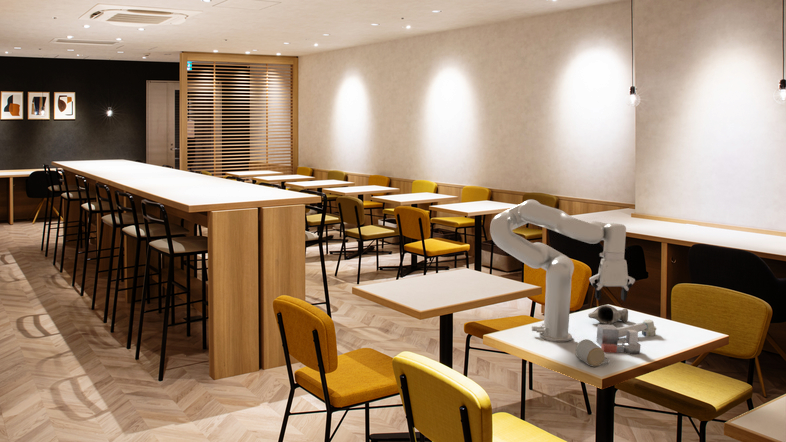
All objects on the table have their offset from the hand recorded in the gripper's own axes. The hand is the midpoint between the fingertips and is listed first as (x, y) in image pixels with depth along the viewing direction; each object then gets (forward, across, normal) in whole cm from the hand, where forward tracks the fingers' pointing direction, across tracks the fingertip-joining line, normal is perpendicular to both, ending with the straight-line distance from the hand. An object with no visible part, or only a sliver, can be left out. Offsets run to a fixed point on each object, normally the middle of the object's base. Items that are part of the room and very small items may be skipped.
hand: (610, 299), depth 232 cm
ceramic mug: (+18, -13, -20) cm, 30 cm away
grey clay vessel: (+18, +12, +29) cm, 36 cm away
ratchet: (+18, +2, -8) cm, 19 cm away
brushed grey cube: (+18, 0, 0) cm, 18 cm away
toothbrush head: (+18, +13, +10) cm, 24 cm away
